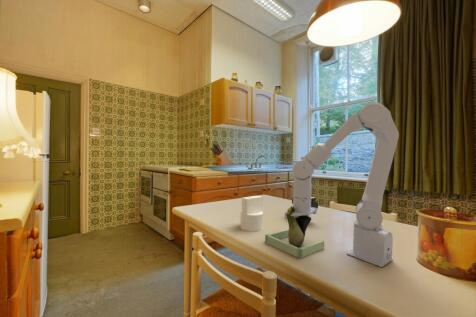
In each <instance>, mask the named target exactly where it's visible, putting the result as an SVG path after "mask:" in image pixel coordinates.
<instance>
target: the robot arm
mask: <svg viewBox="0 0 476 317" xmlns="http://www.w3.org/2000/svg"><path fill="white" fill-rule="evenodd" d="M363 128H364V129H365V130H367V131H369V132H371V134H372V135H373V137H375V138H376V140H377V142H376V145H375V148H374V153H373V157H372V161H371V165H370V169H369V171H368V177H367V180H366V185H365V187H364V191H363V194H362V197H361V199H360V201H359V202H358V203H357V205H356V206H355V217H356V220H354V221H353V234H352V235H353V239H352V249H351V250H349V251H346V255H347V256H352V257H354V258H357V259H360V260H361V261H365V262H367V263H370V264H372V265H376V266H378V267H380V268H383V267H384V266H386V265H387V264H389V263H390V262H392V261H393V260H394V258H393V246H394V245H393V243H394V242H393V241H394V238H393V233H392V232H391V231H388V230H385V229H384V228H383V226H382V223H383V219H384V217H383V214H382V206H383V199H384V198H383V197H384V193H385V191H386V190H385V188H386V185H387V182H388V178H389V175H390V174H389V173H390V171H391V167H392V163H393V160H394V156H395V152H396V148H397V145H398V140H399V136H400V133H399V130H398V128H397V126H396V124H395V121H394V120H393V118H392V114H391V111H390V110H389V109H388V108H387V107H386V106H385V105H384V104H382V103H380V102H376V101H372V102H367V103H366V104H365V105H363V106H362V107H361V109H360V111H359V110H358V111H356V112H354V113H353V114H352V115H351V116H350V117H349V118H348V119H346V120H345V121H344V122H343V123H342V125H340V127H338V128H337V130H335V132H333V134H331V136H330V137H328V139H327V140H326V141H324V143H322V142H321V143H317V144H313V145H312V146H311V147H310V148H311V150H309V152H307V153H306V154H305V155H304V156H301V157H300V159H301V160H298V161H296V162H295V163H294V165H293V167H292V174H293V175H294V178H293V193H292V194H293V195H292V196H293V197H292V199H293V204H292V206H294V210H295V212H292V215H291V216H294V218H296V220H297V223H298V225H299V227H300V229H301V230H302V232H303V235H304V238H305V236H306V231H307V228H308V226H309V224H310V222H311V221H312V217H311V216H310V217H308V215H317V213H318V209H317V208H313V207H311V197H312V189H313V188H312V187H313V186H312V185H313V184H312V175H313V174H314V172H315V170H316V171H317V170H318V169H319V168H320V167H321V166H322V165H323V164H325V163H326V162H327V161H328V160H329V159H331V157H332V151H333V150H334V149H335V148H336V147H337V146H338V145H340V144H341V143H342V142H343V141H344V140H345V139H347V137H348V136H349V135H351V134H353V133H354V132H358V131H359V132H360V131H362V129H363ZM287 212H288V211H287ZM287 212H284V217H283V218H284V219H285V220H287V216H286V213H287Z"/></svg>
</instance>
